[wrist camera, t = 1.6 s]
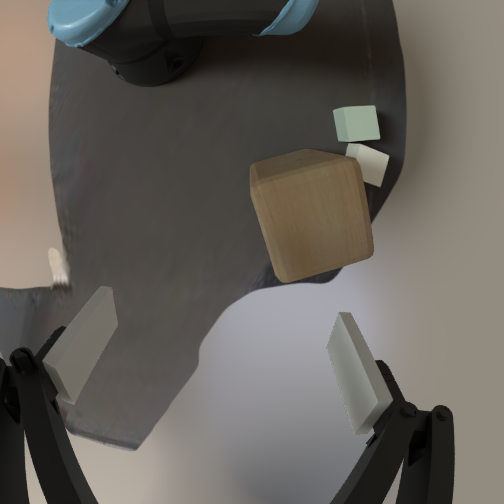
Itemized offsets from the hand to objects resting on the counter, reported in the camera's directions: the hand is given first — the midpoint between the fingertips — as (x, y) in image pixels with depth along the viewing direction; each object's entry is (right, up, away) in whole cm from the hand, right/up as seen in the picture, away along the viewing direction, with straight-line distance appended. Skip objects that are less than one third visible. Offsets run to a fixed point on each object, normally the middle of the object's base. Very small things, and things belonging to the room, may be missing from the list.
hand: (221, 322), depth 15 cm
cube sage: (+17, +24, +23) cm, 37 cm away
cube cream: (+19, +18, +25) cm, 36 cm away
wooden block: (+7, +14, +27) cm, 31 cm away
